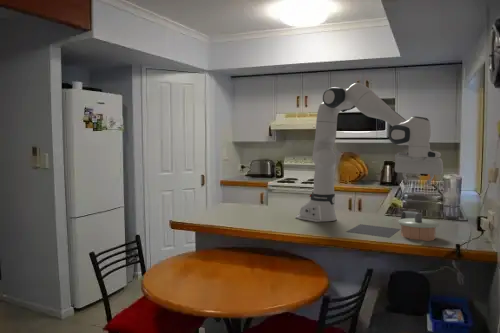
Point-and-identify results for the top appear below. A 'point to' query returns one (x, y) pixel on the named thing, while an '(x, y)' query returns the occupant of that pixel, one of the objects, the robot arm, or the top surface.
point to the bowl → (418, 233)
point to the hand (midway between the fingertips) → (417, 183)
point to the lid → (418, 222)
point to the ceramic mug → (408, 214)
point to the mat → (374, 230)
